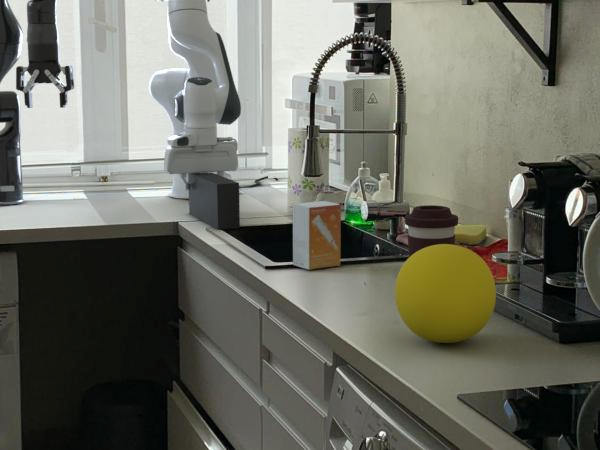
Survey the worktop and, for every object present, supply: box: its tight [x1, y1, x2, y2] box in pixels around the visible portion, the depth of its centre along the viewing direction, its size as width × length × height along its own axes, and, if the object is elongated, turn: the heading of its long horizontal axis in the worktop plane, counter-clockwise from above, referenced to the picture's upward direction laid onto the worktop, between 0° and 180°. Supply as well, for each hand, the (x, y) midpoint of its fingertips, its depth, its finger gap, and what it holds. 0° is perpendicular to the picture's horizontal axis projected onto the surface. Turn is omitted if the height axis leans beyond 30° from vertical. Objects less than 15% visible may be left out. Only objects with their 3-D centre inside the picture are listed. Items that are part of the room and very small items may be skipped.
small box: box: [292, 200, 342, 271], centre depth 216 cm, size 8×6×13 cm
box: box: [188, 172, 241, 231], centre depth 276 cm, size 28×6×12 cm, turn 21°
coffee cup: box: [404, 204, 459, 258], centre depth 197 cm, size 10×10×15 cm
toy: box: [394, 244, 497, 344], centre depth 160 cm, size 15×15×15 cm
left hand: (46, 107), depth 263 cm, fingers open, 8 cm apart
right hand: (202, 188), depth 285 cm, fingers open, 7 cm apart
